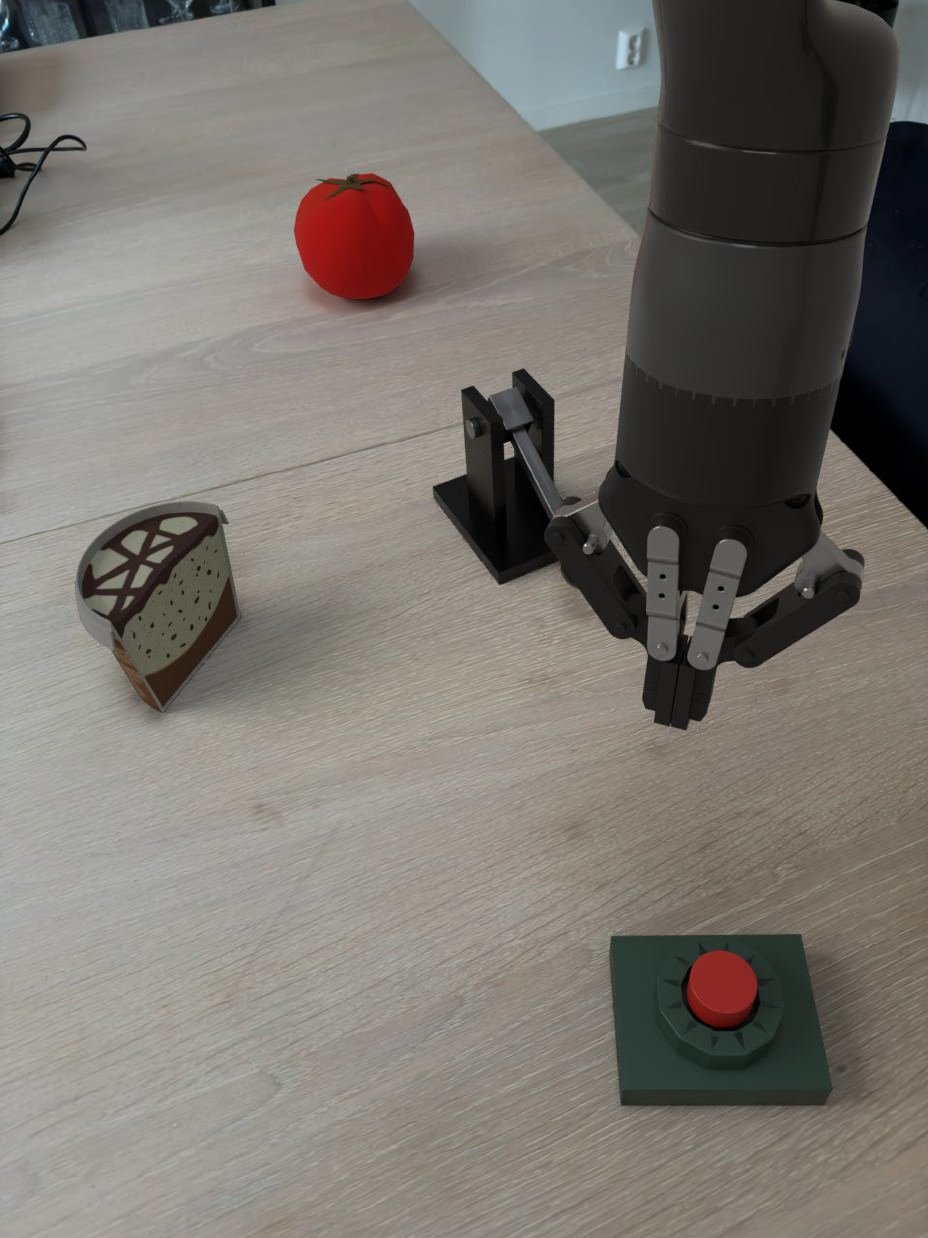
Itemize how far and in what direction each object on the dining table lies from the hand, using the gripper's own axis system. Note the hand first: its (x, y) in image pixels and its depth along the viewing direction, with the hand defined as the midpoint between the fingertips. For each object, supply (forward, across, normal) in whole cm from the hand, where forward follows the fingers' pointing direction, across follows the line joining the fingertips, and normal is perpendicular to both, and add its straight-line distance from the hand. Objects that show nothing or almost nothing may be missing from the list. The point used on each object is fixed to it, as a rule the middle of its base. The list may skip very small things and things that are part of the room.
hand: (674, 715), depth 49 cm
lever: (+7, -14, +27) cm, 31 cm away
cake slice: (+16, -36, +12) cm, 41 cm away
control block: (+18, +5, -2) cm, 19 cm away
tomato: (+6, -42, +59) cm, 73 cm away
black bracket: (+12, -18, +31) cm, 37 cm away
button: (+15, +5, -3) cm, 16 cm away
